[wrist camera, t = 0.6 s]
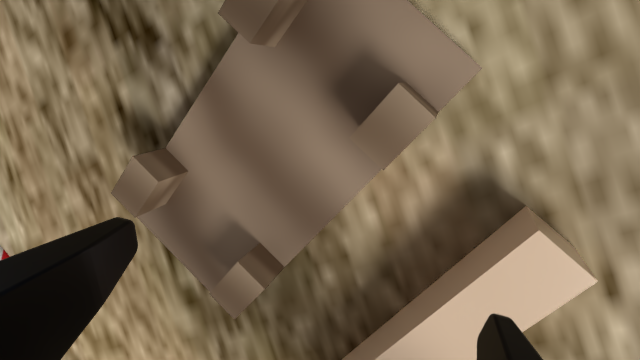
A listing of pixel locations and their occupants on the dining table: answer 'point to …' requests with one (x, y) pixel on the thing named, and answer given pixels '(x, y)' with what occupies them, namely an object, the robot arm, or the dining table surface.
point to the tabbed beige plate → (290, 133)
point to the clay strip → (484, 294)
